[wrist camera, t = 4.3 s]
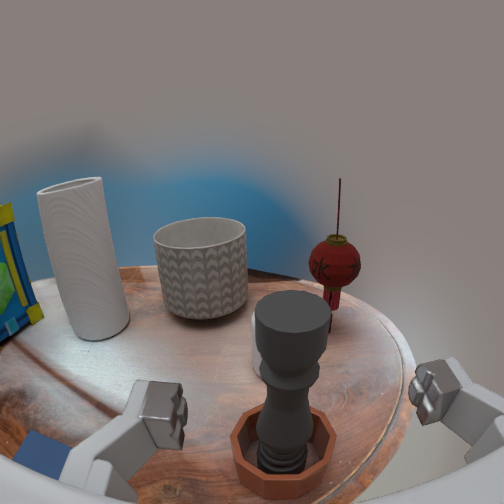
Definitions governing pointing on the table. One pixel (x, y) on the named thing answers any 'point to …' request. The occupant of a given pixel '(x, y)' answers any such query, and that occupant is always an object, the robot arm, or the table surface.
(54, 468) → the blue cloth
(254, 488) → the terracotta pot
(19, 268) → the decorative book
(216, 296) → the planter
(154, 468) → the table surface
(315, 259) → the lantern
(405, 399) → the table surface
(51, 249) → the vase
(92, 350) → the table surface
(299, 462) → the candle holder
